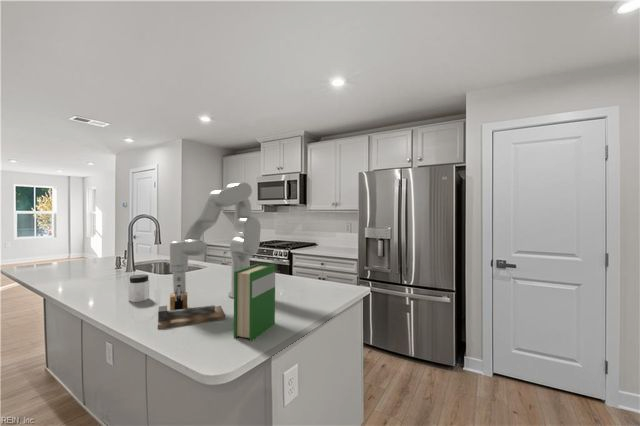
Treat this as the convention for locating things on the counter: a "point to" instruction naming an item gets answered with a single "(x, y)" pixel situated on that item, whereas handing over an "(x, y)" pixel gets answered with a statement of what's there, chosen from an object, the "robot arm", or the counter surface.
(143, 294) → the jar
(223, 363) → the counter surface
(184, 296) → the wooden block
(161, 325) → the rail board
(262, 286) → the hardback book
